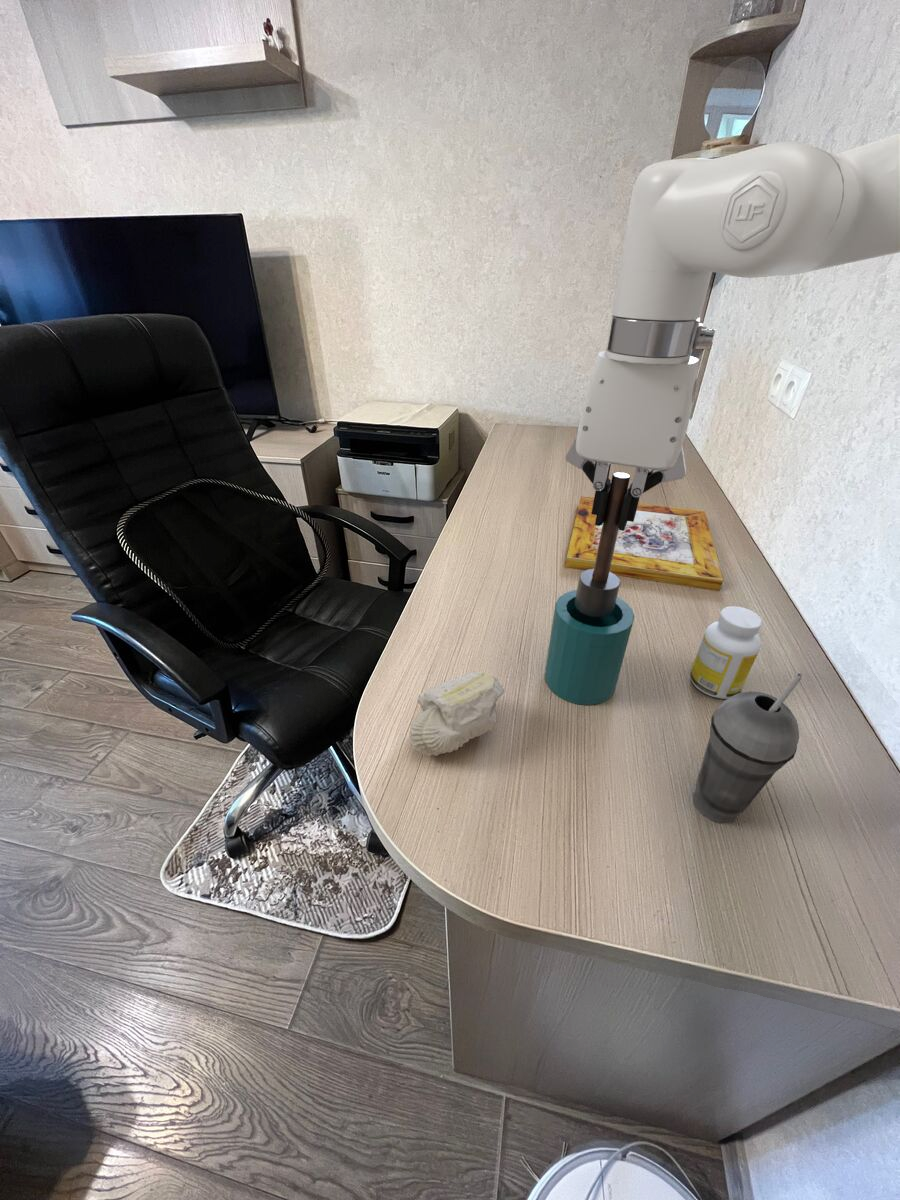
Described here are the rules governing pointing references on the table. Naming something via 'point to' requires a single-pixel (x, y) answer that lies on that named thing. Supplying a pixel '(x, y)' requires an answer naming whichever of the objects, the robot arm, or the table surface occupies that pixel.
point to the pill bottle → (727, 653)
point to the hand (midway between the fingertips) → (611, 522)
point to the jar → (586, 651)
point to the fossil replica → (455, 713)
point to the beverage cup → (744, 752)
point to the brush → (604, 558)
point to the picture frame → (651, 546)
